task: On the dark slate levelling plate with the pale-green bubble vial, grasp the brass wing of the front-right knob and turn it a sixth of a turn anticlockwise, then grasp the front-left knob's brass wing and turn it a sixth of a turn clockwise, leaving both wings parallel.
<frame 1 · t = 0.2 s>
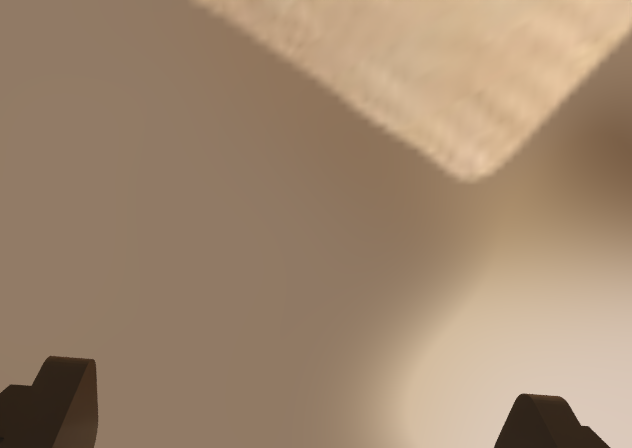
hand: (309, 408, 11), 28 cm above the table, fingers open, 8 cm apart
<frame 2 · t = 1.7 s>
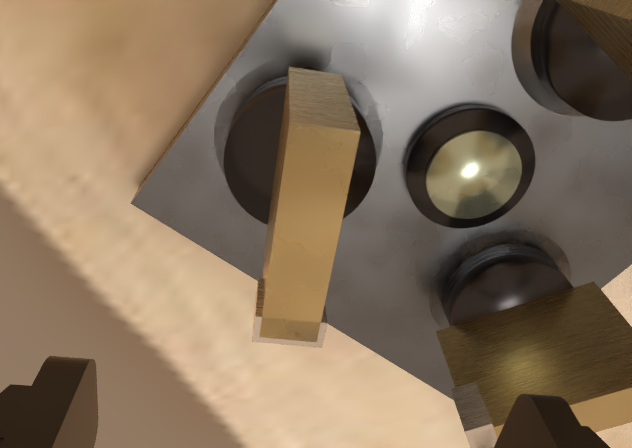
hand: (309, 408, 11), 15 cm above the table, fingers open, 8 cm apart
knob a: (301, 189, 19), point 6 cm above the table, hinge at 0.0°
knob b: (529, 349, 23), point 6 cm above the table, hinge at 0.0°
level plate: (456, 151, 24), on the table
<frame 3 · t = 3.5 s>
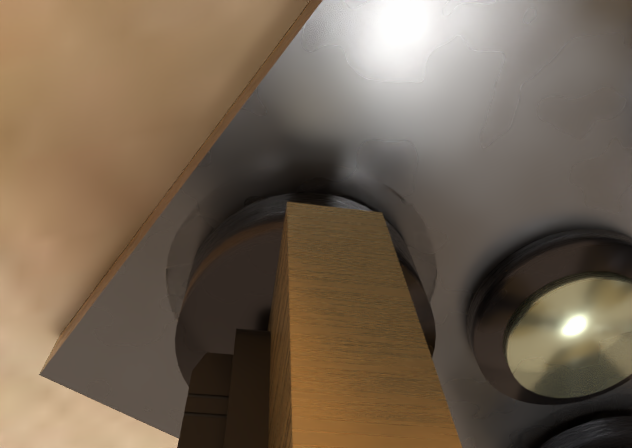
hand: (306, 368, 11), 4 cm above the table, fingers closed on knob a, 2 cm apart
knob a: (310, 417, 10), point 6 cm above the table, hinge at 0.0°, touching gripper
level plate: (539, 280, 16), on the table
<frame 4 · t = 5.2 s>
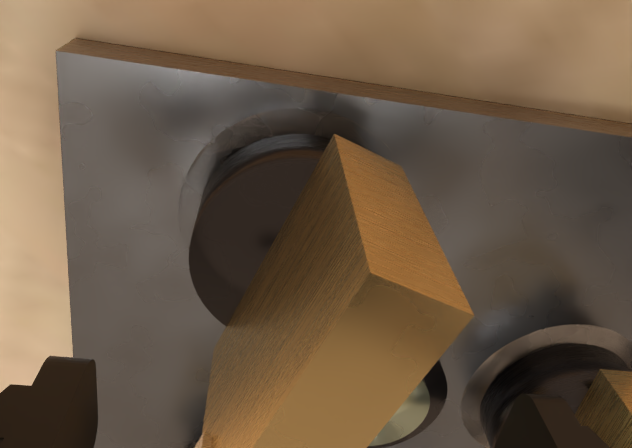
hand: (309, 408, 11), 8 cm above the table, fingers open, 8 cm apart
knob a: (300, 310, 13), point 6 cm above the table, hinge at 42.0°
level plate: (362, 351, 21), on the table
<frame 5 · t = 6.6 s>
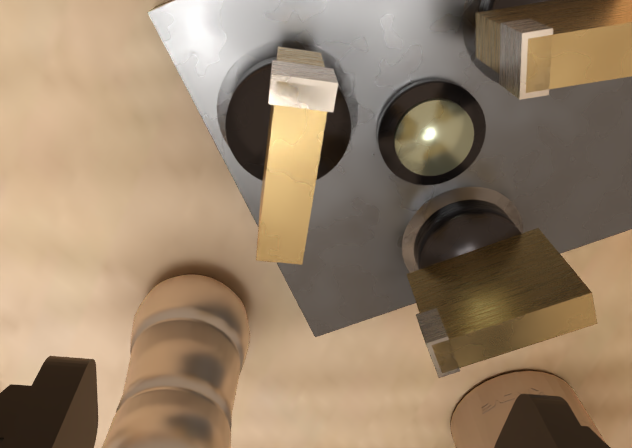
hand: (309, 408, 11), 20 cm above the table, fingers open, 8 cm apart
knob a: (576, 29, 22), point 6 cm above the table, hinge at 46.8°
knob b: (289, 141, 23), point 6 cm above the table, hinge at 0.0°
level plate: (421, 121, 29), on the table
knob c: (484, 284, 27), point 6 cm above the table, hinge at 0.0°
plastic bottle: (198, 303, 34), on the table
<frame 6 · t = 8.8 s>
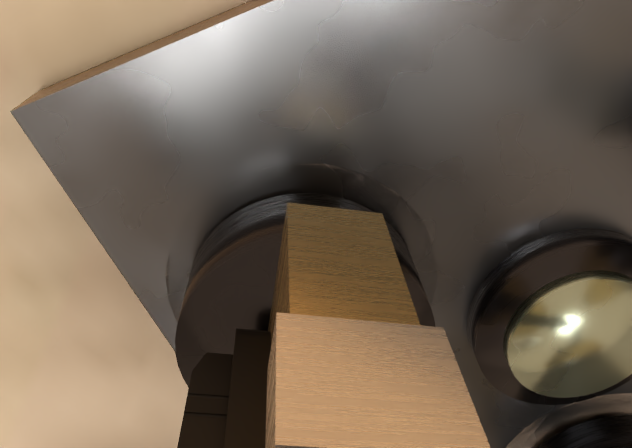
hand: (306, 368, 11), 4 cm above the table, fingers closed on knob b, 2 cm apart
knob b: (311, 410, 10), point 6 cm above the table, hinge at 0.0°, touching gripper
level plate: (540, 280, 16), on the table
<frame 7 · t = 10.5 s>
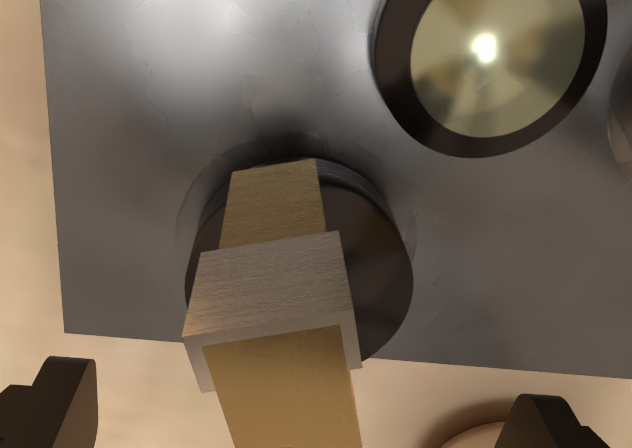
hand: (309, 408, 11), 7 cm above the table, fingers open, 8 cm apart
knob b: (302, 339, 12), point 6 cm above the table, hinge at -42.2°
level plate: (462, 31, 14), on the table
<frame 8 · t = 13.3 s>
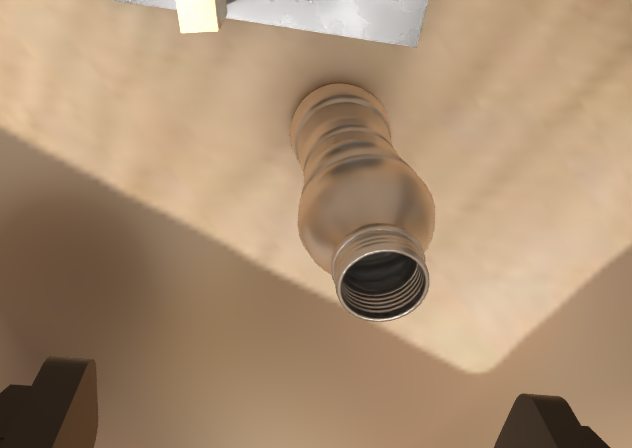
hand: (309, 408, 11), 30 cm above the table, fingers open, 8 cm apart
plastic bottle: (336, 119, 39), on the table
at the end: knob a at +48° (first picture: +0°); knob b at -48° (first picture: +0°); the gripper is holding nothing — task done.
